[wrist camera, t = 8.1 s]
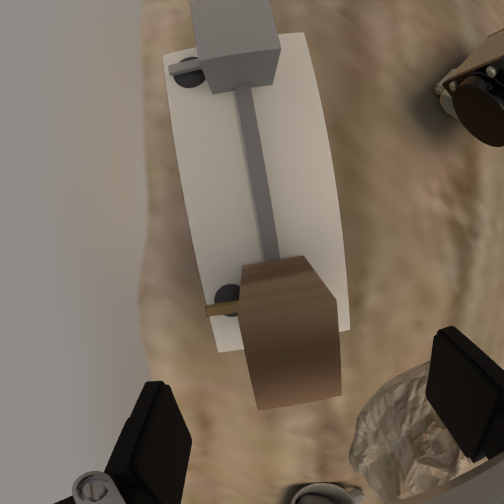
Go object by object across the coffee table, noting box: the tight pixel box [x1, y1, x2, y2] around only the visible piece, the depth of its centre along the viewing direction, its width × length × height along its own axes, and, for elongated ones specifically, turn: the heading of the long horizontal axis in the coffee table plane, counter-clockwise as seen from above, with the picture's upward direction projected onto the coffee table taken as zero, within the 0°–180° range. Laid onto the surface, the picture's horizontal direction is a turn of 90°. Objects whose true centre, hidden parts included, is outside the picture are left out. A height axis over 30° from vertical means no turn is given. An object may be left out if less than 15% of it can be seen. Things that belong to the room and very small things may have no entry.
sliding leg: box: [205, 255, 342, 410], centre depth 16 cm, size 5×7×8 cm
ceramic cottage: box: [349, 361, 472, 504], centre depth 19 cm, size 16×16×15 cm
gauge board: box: [162, 0, 350, 353], centre depth 17 cm, size 22×10×7 cm, turn 10°
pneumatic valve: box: [434, 29, 504, 147], centre depth 13 cm, size 6×12×12 cm, turn 134°
